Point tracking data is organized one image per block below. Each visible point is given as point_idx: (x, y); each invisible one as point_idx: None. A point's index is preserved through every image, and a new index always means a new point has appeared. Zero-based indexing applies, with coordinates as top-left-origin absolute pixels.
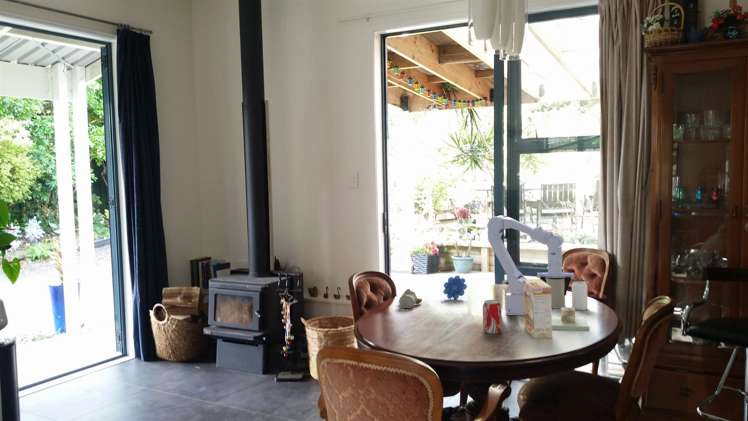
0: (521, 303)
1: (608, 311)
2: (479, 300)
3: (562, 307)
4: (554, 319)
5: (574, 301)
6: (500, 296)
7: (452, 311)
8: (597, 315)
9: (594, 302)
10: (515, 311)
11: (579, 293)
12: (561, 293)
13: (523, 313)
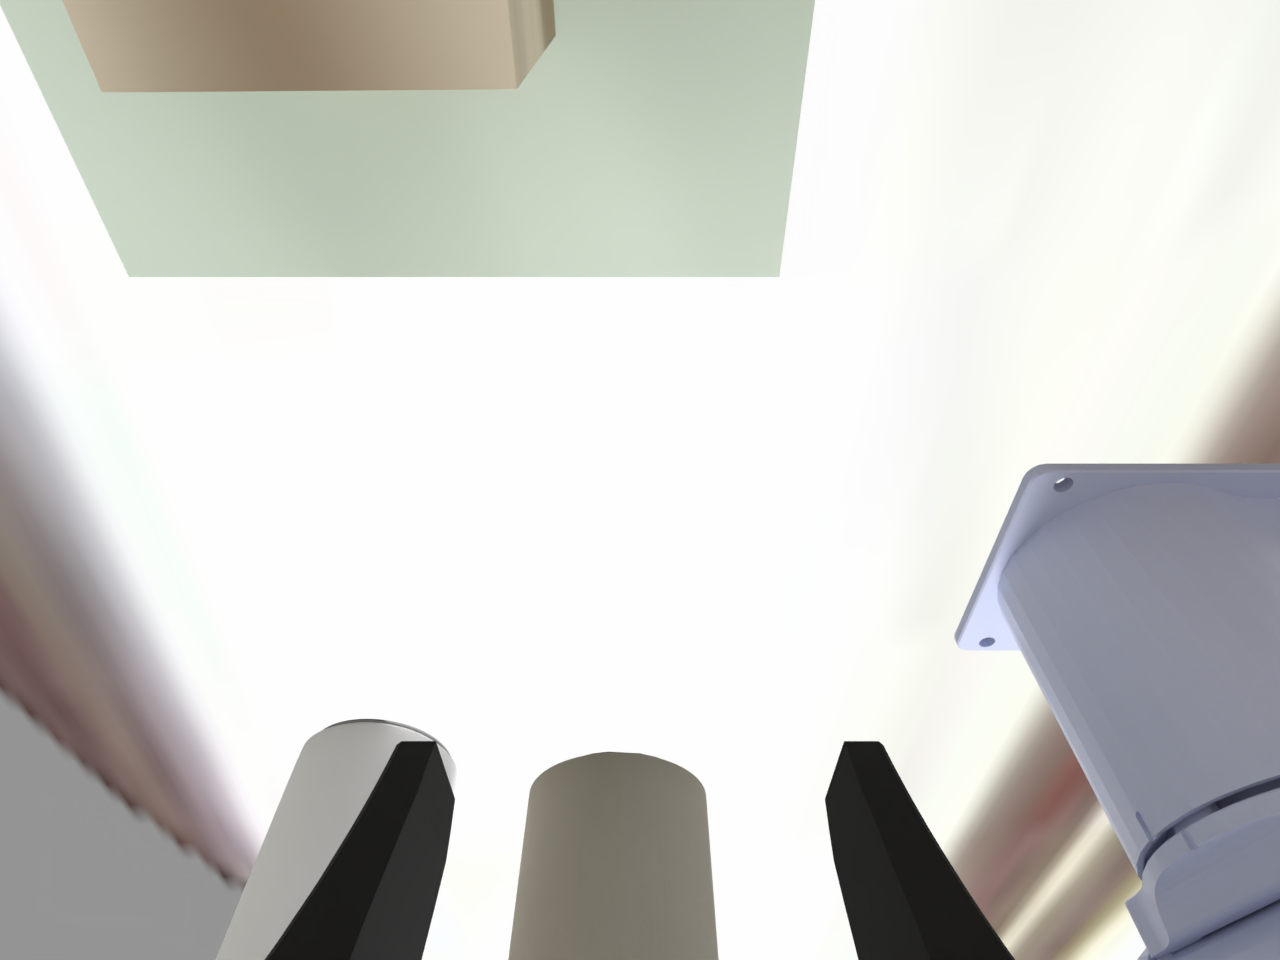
0: (1245, 611)
1: (71, 703)
2: None
3: (467, 79)
4: (703, 20)
5: None
6: (1030, 945)
7: None
8: (116, 565)
9: None
10: (1245, 514)
11: None
12: (545, 932)
13: (1107, 499)
